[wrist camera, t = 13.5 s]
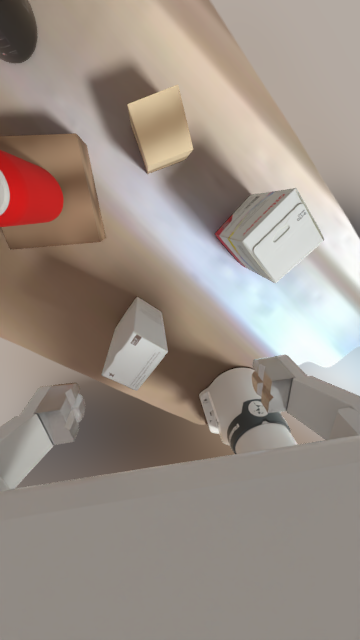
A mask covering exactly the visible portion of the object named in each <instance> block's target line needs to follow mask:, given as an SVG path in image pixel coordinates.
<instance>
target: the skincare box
mask: <svg viewBox="0 0 360 640" xmlns="http://www.w3.org/2000/svg"><path fill="white" fill-rule="evenodd" d="M167 353H168V348H167V342H166V336H165V329H164V323H163V317H162V312H161V311H159V310H158V309H156V308H155V307H153V306H151V305H150V304H148V303H147V302H145V301H143V300H142V299H140V298H139V297H136V298H135V300H134V301H133V303H132V304H131V305H130V307H129V308H128V310H127V311H126V313H125V314H124V316H123V317H122V319H121V320H120V322H119V324H118V325H117V326H116V328H115V331H114V334H113V337H112V341H111V344H110V348H109V351H108V354H107V358H106V361H105V364H104V368H103V371H102V376H104V377H107V378H109V379H111V380H113V381H116V382H118V383H121V384H123V385H125V386H127V387H129V388H131V389H133V390H136V391H137V390H138V389H139V388H140V387H141V385H142V384H143V383H144V382H145V380H146V379H147V378H148V377H149V375H150V374H151V373H152V372H153V370H154V369H155V368H156V367H157V365H158V364H159V363H160V362H161V360H162V359H163V358H164V356H165V355H166V354H167Z"/></svg>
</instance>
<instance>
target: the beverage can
mask: <svg viewBox="0 0 360 640" xmlns="http://www.w3.org/2000/svg"><path fill="white" fill-rule="evenodd" d="M63 201H64V200H63V193H62V190H61V188H60V185H59V184H58V182H57V181H56V179H55V178H54V177H53V176H52V175H51V174H50V173H49V172H48V171H46V170H45V169H43V168H42V167H40V166H37V165H35V164H32V163H30V162H28V161H25V160H23V159H21V158H18V157H16V156H14V155H11V154H9V153H7V152H4V151H2V150H0V227H8V226H18V225H27V224H37V223H46V222H50V221H52V220H54V219H56V218H57V217H58V216H59V215H60V213H61V211H62V208H63Z"/></svg>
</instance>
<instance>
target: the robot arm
mask: <svg viewBox="0 0 360 640" xmlns="http://www.w3.org/2000/svg"><path fill="white" fill-rule="evenodd" d="M253 368H254V370H253V369H250V368H235V369H231V370H228V371H226V372H224V373H222V374H221V375H219V376H218V377H217V378H216V379H215V380H214V381H213V382H212V384H211V385H210V386H209V387H208V388H206V389H205V390H203V391H202V392H201V393H200V394H199V397H200V401H201V404H202V407H203V410H204V413H205V417H206V420H207V423H208V426H209V429H210V431H211V432H213V433H218V434H220V437H221V440H222V442H223V443H225V444H227V445H230V447H231V449H232V450H233V451H234V453H235V455H228V456H222V457H216V458H210V459H203V460H197V461H190V462H184V463H177V464H171V465H165V466H158V467H152V468H145V469H139V470H133V471H127V472H120V473H113V474H107V475H101V476H94V477H87V478H81V479H75V480H69V481H62V482H55V483H49V484H43V485H36V486H30V487H24V488H17V489H15V488H16V486H17V485H18V484H19V483H20V482H21V481H22V480H23V479H24V478H25V477H26V475H27V474H28V473H29V472H30V471H31V470H32V469H33V468H34V467H35V466H36V465H37V463H38V462H39V461H40V460H41V459H42V458H43V457H44V456H45V455H46V454H47V453H48V451H49V450H50V449H51V448H52V447H53V445H57V444H63V443H68V442H74V441H75V438H76V435H77V433H78V429H79V425H78V422H80V421H81V419H83V416H84V413H85V401H84V398H83V397H82V396H81V395H80V394H79V391H80V387H79V385H78V384H77V383H68V384H59V385H53V386H52V385H51V386H42V387H40V388H38V390H37V391H36V393H35V394H34V395H33V397H32V398H31V400H30V401H29V403H28V404H27V406H26V407H25V408H24V410H23V411H22V413H21V414H20V415H19V416H16V417H14V418H12V419H11V420H10V421H8V422H7V423H5V424H4V425H2V426H1V427H0V640H360V396H358V395H355V394H353V393H350V392H348V391H346V390H344V389H341V388H339V387H336V386H334V385H332V384H329V383H327V382H324V381H322V380H320V379H317V378H315V377H313V376H307V375H306V374H305V373H304V372H303V371H302V370H301V369H300V368H299V367H298V366H297V365H296V364H295V363H294V362H293V361H292V360H291V359H290V358H289V357H288V356H287V355H280V356H275V357H269V358H261V359H254V361H253ZM283 411H287V413H289V414H290V415H292V416H293V417H295V418H296V419H297V420H299V421H300V422H302V423H303V424H304V425H306V426H307V427H308V428H310V429H311V430H313V431H314V432H316V433H317V434H318V435H320V436H321V437H322V438H324V439H325V441H318V442H312V443H305V444H300V445H298V444H297V442H296V441H295V439H294V438H293V436H292V435H291V432H290V428H289V426H288V424H287V422H286V421H285V419H284V418H283V417H282V415H281V412H283Z"/></svg>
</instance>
